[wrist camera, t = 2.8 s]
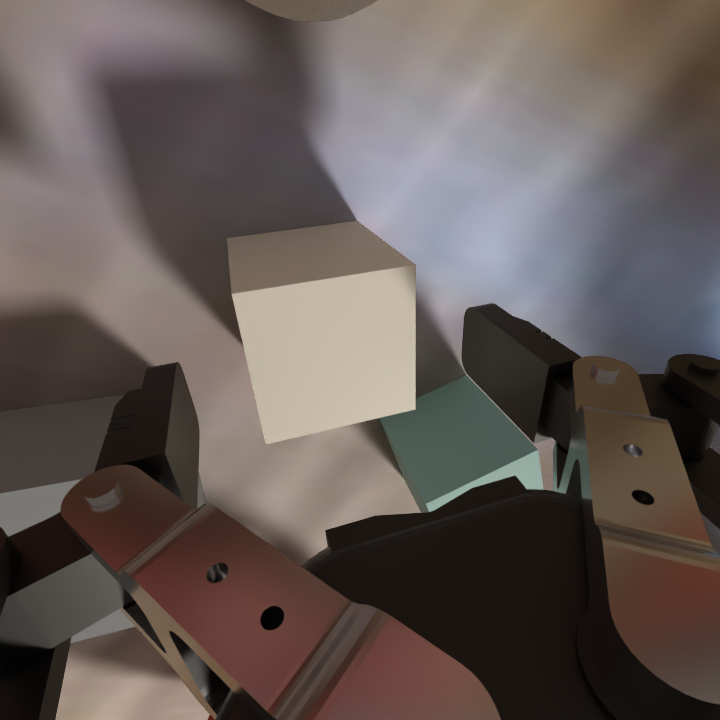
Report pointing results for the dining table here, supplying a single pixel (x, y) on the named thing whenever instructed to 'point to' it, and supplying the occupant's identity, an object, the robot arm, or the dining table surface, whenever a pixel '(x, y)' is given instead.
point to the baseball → (311, 8)
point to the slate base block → (54, 469)
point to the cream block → (325, 326)
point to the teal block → (458, 445)
